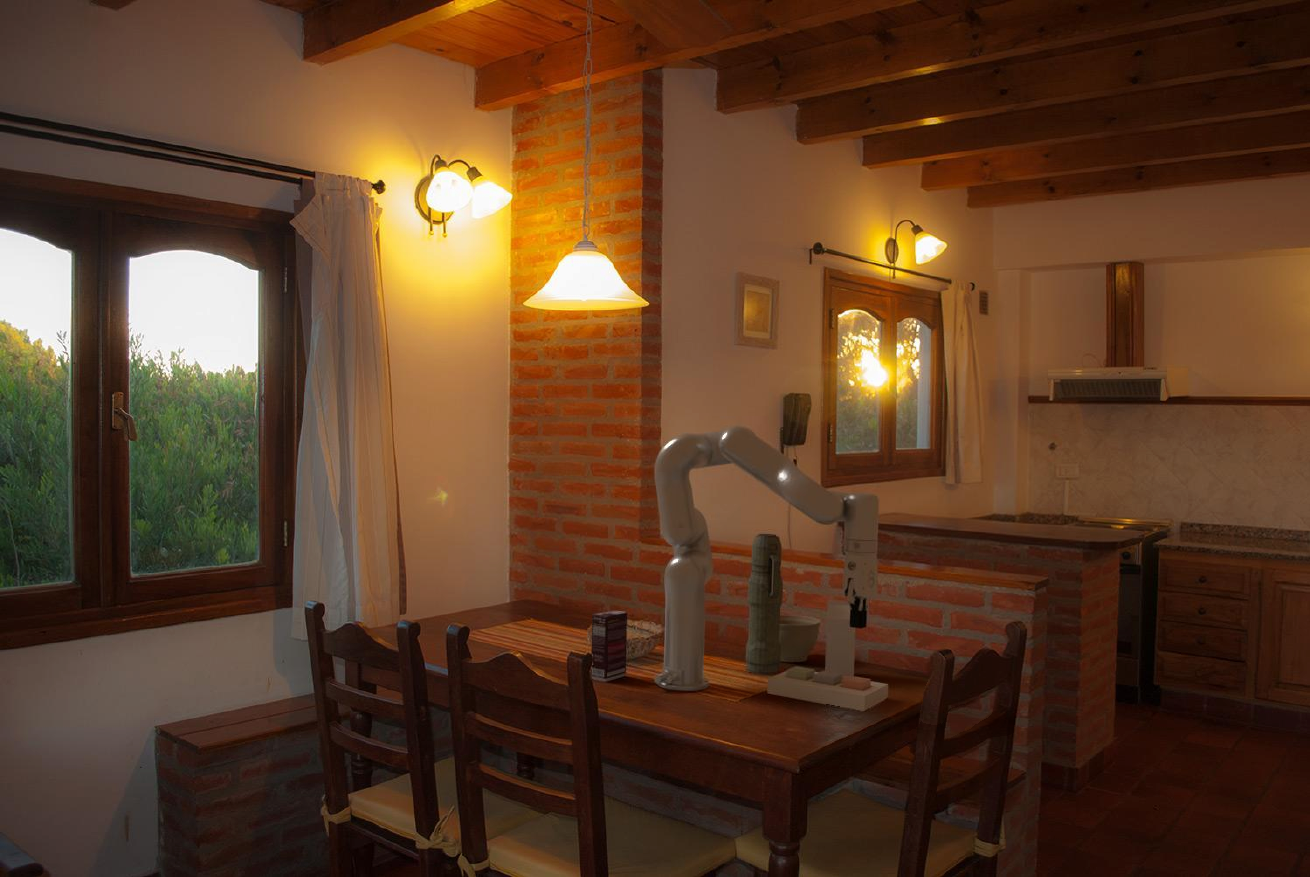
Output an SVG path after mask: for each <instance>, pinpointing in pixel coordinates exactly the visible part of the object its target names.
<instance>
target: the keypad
mask: <svg viewBox="0 0 1310 877" xmlns="http://www.w3.org/2000/svg"><path fill="white" fill-rule="evenodd" d="M819 672H820V671H815V674H816V673H819ZM844 678H846V676H842V679H844ZM766 692H767V694H771V695H774V696H780V697H786V698H790V699H796V700H800V701H807V702H811V703H817V704H822V705H826V704H830V705H829V706H831V705H835V706H834V707H837V706H840V707H839V708H842V707H846V708H845V709H847V708H851V709H850V710H852V709H856V710H855V711H857V710H862V711H861V712H863V711H865V710H867V709H868V708H870V707H871V706H873V705H874V704H877V703H879V702H881V701H882V700H884V699H886V698H887V697H888V698H889V684H888V683H882V682H878V681H873V680H872V681H871V687H870V688H868V689H866V690H864V691H861V690H855V689H849V688H844V687H841V683H840V684H837V685H835V686H833V685H827V684H822V683H816V682H813V678H812V679H810V680H807V681H805V680H799V679H794V678H788V677H786V671H783V672H781V673H778V674H775V675H773V676H770V677H768V678H767V690H766ZM870 709H871V708H870ZM867 711H868V710H867ZM865 712H866V711H865Z"/></svg>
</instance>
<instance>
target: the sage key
mask: <svg viewBox="0 0 1310 877" xmlns="http://www.w3.org/2000/svg"><path fill="white" fill-rule="evenodd" d="M785 672H786V677H788V678H794V679H799V680H805V681H807V680H810V679H812V678H813V676H814V674H815V672H816V669H813V668H809V667H808V668H807V667H802V666H796V665H795V666H793V667H790V668H787V669H786V670H785Z"/></svg>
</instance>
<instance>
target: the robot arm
mask: <svg viewBox="0 0 1310 877" xmlns="http://www.w3.org/2000/svg"><path fill="white" fill-rule="evenodd" d="M730 464H734V465H735V466H736V467H738V468H739V469H740V470H742V471H743V472H745V473H747V475H748V476H749V475H750V476H751V477H752V478H753V479H755V480H756V481H758V482H759V483H761V484H762V485H764V486H765V487H766V488H768V489H769V490H770V491H771V492H773V493H774V494H775V495H777V496H778V497H780V498H782V499H783V500H785V501H786V502H787V503H788V504H790V505H791V506H792V507H794V508H795V509H797V510H798V511H800V512H801V513H802V514H804V515H805V516H807V517H808V518H809V519H811V520H812V521H814V522H816V523H817V524H820V525H825V526H830V525H833V524H836V523H838V522H844V533H843V534H844V536H843V538H844V539H843V540H844V542H843V544H844V545H843V553H844V554H845V556H844V557H845V558H844V566H843V575H842V576H843V577H842V578H843V579H842V593H843V595H844V596H845V597H846V601H847V603H849V608H850V627H853V628H855V629H860V630H862V629H864V628H867V622H868V621H867V619H868V618H867V617H868V608H869V607H868V606H869V600H870V599H871V597H875V596H876V595H877V594H878V590H879V589H878V588H879V583H878V582H879V577H878V576H879V573H878V570H879V569H878V558H877V555H878V544H879V543H878V539H879V513H880V512H879V511H880V500H879V499H880V498H879V496H877V494H874V493H868V492H851V493H848V492H840V491H835V490H828V489H827V488H825V487H824V486H822V485H821V484H820V483H818V482H817V481H815V480H814V479H812V478H810V477H809V476H808V475H807V474H805V473H804V471H802V470H801V469H800V468H798V466H797V465H796V464H795V463H794V461H793V460H792V459H790V458H789V457H788V456H787V455H785V454H784V453H782V452H781V451H779V450H778V449H776V448H775V447H773V446H772V445H770V444H768V443H767V442H766V441H764V440H763V439H762V438H761V437H758V436H757V434H756V433H755V432H754V431H753V430H752V429H751V428H748V427H746V426H739V425H735V426H731V427H728V428H727V429H725V430H718V431H712V432H711V431H710V432H703V433H683V434H679V435H677V436H675V437H673V438H672V439H670V440H669V441H668V442H667V443H666V444H665V445H664V446H663V447H662V448H660V451H659V452H658V455H657V456H656V459H655V463H654V472H653V473H654V483H655V490H656V497H657V505H658V513H659V519H660V520H659V521H660V526H661V528H660V529H661V534H662V536H663V537H662V538H663V539H664V541H665V542H666V543H667V544H668V545H669V546H672V550H673V557H672V558H671V559H670V560H669V561H668V562H667V566H666V567H665V571H664V575H663V576H664V579H663V580H664V581H663V583H664V594H665V596H664V598H665V601H664V604H665V607H664V608H665V609H664V613H665V614H664V648H663V649H664V650H663V666H662V669H661V670H662V672H661V673H658V674H656V675H654V677H653V681H654V683H656V685H657V686H658V687H660V688H663V689H667V690H669V691H670V690H671V691H678V692H694V691H695V692H696V691H701V690H705V689H708V688H709V687H710V680H709V679H708V678H706V677H704V663H705V662H704V661H705V660H704V657H705V656H704V655H705V630H706V629H705V628H706V595H705V593H706V590H705V587H706V586H705V585H706V584H708V582H709V581H710V580H711V578H712V576H713V573H714V561H713V555H712V554H713V553H712V549H711V548H712V547H711V542H710V536H709V530H708V524H707V520H706V518H705V516H704V514H703V513H702V512H701V511H700V510H699V509H698V508H696V507H695V503H694V498H693V497H694V496H693V489H692V488H693V487H692V484H691V480H690V473H691V471H692V470H695V469H704V468H709V467H716V466H723V465H730Z"/></svg>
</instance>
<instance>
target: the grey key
mask: <svg viewBox="0 0 1310 877" xmlns="http://www.w3.org/2000/svg"><path fill="white" fill-rule="evenodd" d="M818 672H819V673H816V674H814V676H813V682H816V683H822V684H827V685H833V686H835V685H837V684H840V683H842V674H838V673H832V672H826V671H825V670H821V671H818Z"/></svg>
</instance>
